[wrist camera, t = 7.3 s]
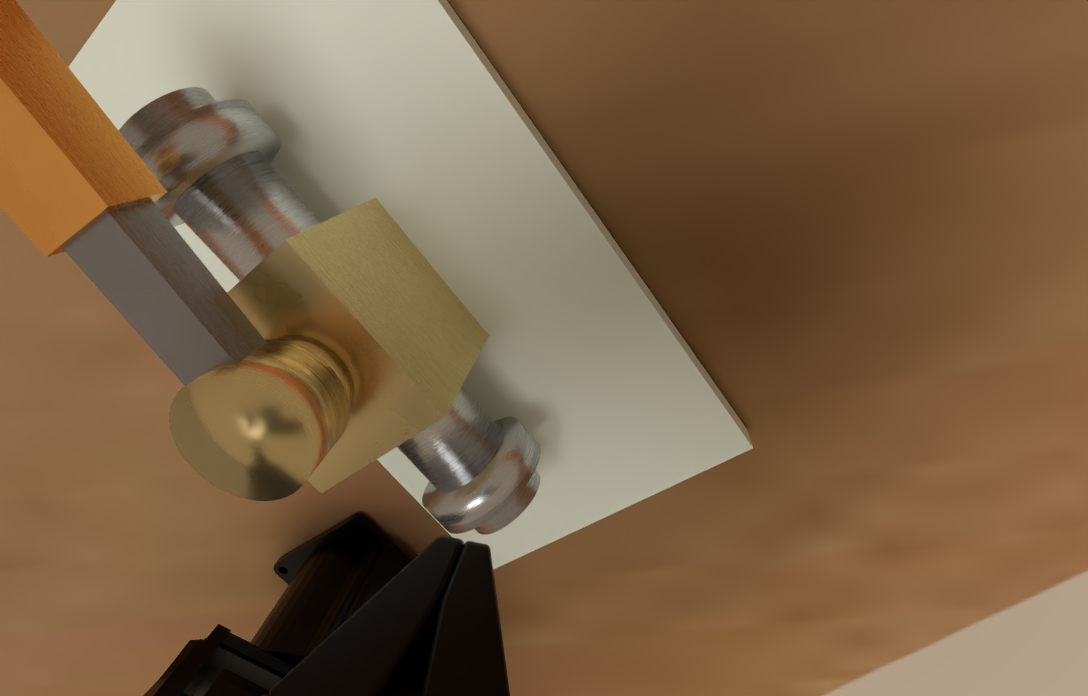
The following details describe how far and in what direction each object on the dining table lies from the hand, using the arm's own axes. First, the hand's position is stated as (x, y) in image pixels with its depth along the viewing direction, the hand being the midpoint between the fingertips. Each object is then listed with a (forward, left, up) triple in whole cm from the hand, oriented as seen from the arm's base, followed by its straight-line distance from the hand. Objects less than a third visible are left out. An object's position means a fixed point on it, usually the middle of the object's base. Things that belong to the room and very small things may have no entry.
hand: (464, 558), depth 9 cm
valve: (-5, +3, -11) cm, 13 cm away
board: (-4, +3, -13) cm, 14 cm away
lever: (-5, +7, -5) cm, 10 cm away
